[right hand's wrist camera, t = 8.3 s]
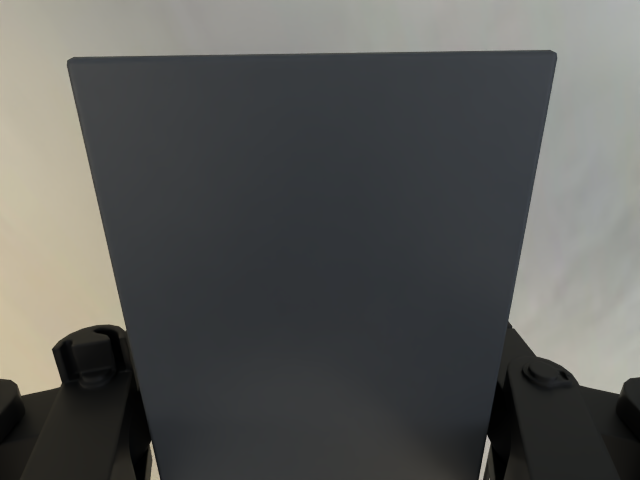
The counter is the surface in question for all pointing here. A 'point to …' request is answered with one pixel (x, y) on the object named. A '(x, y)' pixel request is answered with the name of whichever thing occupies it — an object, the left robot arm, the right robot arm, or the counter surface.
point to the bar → (315, 251)
